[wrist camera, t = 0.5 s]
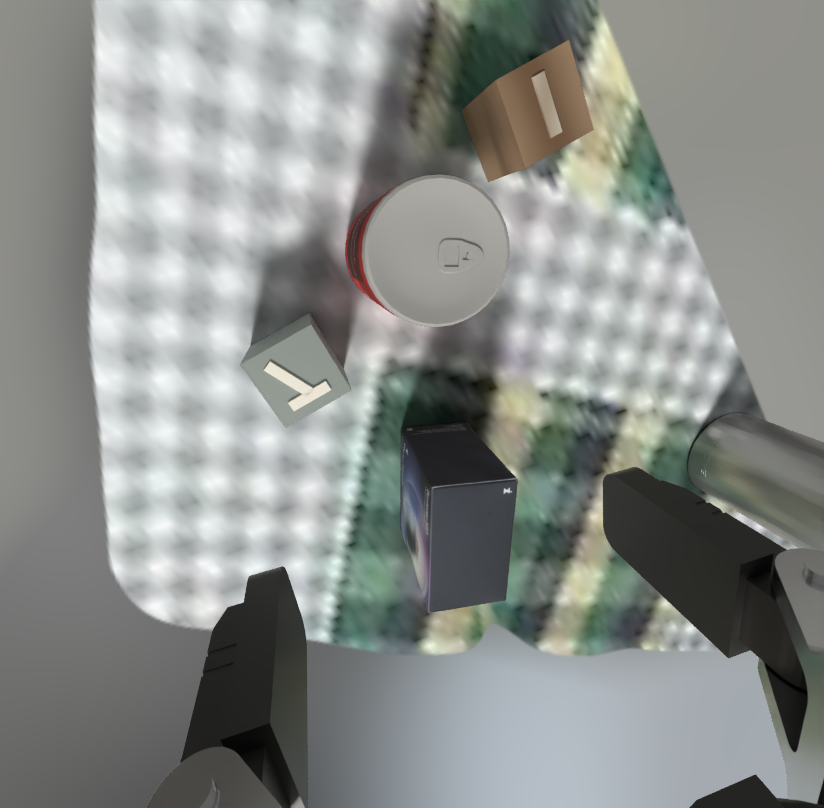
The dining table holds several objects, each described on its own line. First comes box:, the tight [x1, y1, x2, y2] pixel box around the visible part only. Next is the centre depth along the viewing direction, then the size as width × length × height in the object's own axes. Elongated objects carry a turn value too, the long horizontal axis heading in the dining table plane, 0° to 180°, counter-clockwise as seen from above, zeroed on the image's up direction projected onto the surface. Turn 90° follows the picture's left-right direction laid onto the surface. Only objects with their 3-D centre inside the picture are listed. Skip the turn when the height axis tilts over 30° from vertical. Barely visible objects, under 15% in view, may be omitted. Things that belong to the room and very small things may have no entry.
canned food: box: [345, 174, 509, 327], centre depth 28 cm, size 8×8×11 cm
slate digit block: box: [240, 313, 351, 428], centre depth 31 cm, size 5×5×6 cm
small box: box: [400, 422, 518, 612], centre depth 35 cm, size 11×6×10 cm, turn 179°
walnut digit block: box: [461, 40, 594, 182], centre depth 29 cm, size 5×5×6 cm
